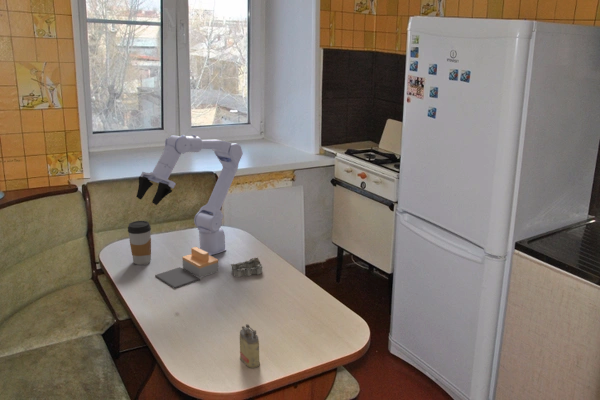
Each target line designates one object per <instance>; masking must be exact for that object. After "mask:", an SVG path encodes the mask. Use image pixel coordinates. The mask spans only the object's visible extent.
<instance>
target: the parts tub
mask: <svg viewBox="0 0 600 400" xmlns="http://www.w3.org/2000/svg"><path fill="white" fill-rule="evenodd" d="M219 266H220V265H219V262H218V263H215V264H212V265H209V266H206V267H203V268H200V269H199V268H198V267H196V266H194V265H192V264H190V263H188V262H186V261H185V260H183V259H182V269H184V270H186V271H188V272H190V273H191V274H193V275H195V276H197V277H198V278H200V279H201V278H203V277H206V276H209V275H212V274H215V273H218V272H219V271H220V270H219V269H220V268H219Z"/></svg>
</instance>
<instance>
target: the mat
mask: <svg viewBox="0 0 600 400" xmlns="http://www.w3.org/2000/svg"><path fill="white" fill-rule="evenodd" d="M154 276H155V277H156V278H157V279H158V280H160V281H161V282H163V283H165V284H167V285H168V286H170V287H172V288H173V289H178V288H181V287H184V286H187V285H189V284H192V283H195V282H198V281H200V280H201V278H200V277H198V276H196V275H194V274H193V273H191V272H189V271H187V270H185V269H184V268H183V267H181V266H179V267H176V268H173V269H170V270H167V271H163V272H161V273H157V274H155V275H154Z"/></svg>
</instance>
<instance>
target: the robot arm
mask: <svg viewBox="0 0 600 400" xmlns="http://www.w3.org/2000/svg"><path fill="white" fill-rule="evenodd" d="M202 149H205V150H212V151H213V152H214V154H215V157H217V160H218V161H219V162H220V164H221V166H222V169H221V171H220V174H219V175H218V177H217V181H216V182H215V185H214V187H213V190H212V192H211V195H210V197H209V199H208V201H207V203H206V204H204V205H203V206H201V207H200V208H199V210H198V212H197V213H196V214H195V215H194V218H193V221H194V225H195V226H196V227H197V230H198V236H199V248H200V249H202V250H204V251H206V252H208V254H209V255H210V256H212V255H216V254H219V253H222V252H223V253H224V252H225V251H227V248H226V235H225V231H224V229H223V228H222V224H223V223H222V222H223V218H224V213H223V212H222V210H221V208H222V206H223V204H224V202H225V199H226V197H227V195H228V192H229V190H230V188H231V186H232V183H233V181H234V178H235V177H236V174H237V172H238V168H239V163H240V162H241V159H242V156H243V148H242V146H241V145H240V144H239V143H234V142H230V141H227V140H221V139H216V138H215V139H202V138H201V137H200V136H197V134H191V135H186V134H181V135H180V136H179V135H173V134H171V135H170V136H169V137H168V138H165V141H164V148H163V152H162V154H161V155H160V157H159V159H158V161H157V162H156V165H155V167H154V168H153V170H152V171H150V172H146V171H142V172H141V174H140V175H139V177H138V187H137V188H138V189H137V192H136V198H138V199H139V200H142V199H143V198H144V196H145V195H146V192H147V191H148V190H149V189H150V188H151V187H152V186H153V185H154V183H157V184H158V185H157V190H156V193H155V195H154V196H153V199H152V204H154V205H155V206H157V205H159V203H160V202H161V201H162V200H164V198H165V197H166V196H168V195H169V194H172V192H173V189H175V186H176V184H177V183H176V182H174V181H173V180H170V179H169V178H170V175H171V174H172V172H173V170H174V169H175V166H176V165H177V162H178V161H179V159H180V157H181V155H182V154H186V153H199V152H200V151H201V150H202Z"/></svg>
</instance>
